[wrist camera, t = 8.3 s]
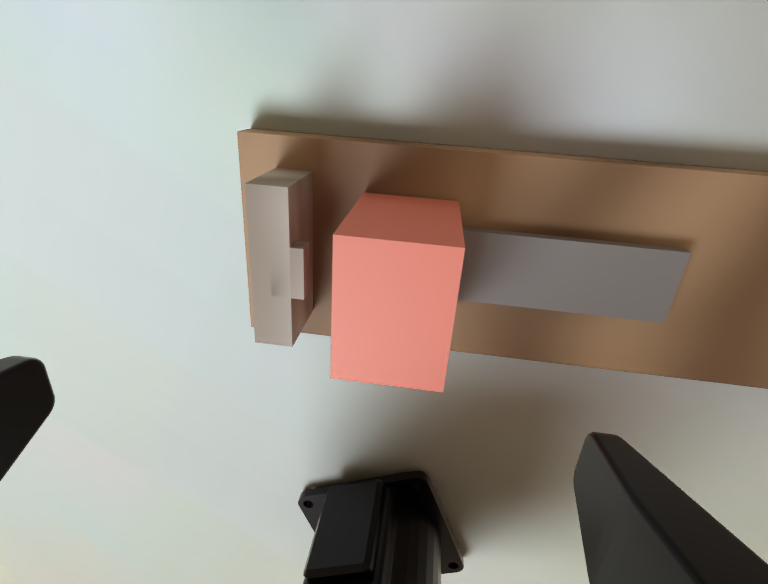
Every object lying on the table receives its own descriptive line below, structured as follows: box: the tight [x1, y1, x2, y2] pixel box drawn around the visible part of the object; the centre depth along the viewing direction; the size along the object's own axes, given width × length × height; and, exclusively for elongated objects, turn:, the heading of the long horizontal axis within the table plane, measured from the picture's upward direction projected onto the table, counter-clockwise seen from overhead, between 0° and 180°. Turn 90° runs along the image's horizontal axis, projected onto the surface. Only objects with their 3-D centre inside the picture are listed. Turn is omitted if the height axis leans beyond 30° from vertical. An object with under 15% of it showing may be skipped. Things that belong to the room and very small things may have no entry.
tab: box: [330, 192, 691, 393], centre depth 13 cm, size 10×4×4 cm, turn 86°
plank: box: [237, 129, 768, 389], centre depth 14 cm, size 22×7×4 cm, turn 86°
